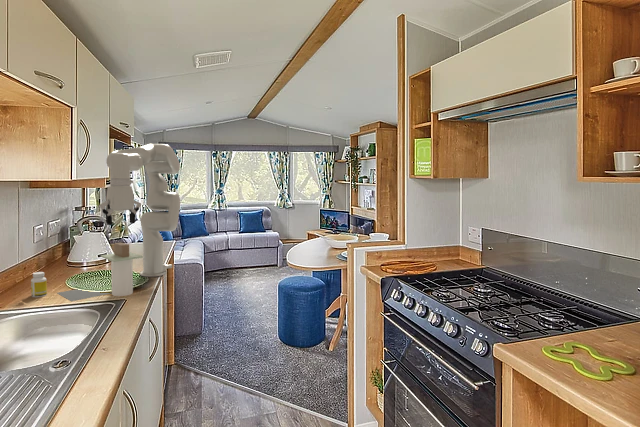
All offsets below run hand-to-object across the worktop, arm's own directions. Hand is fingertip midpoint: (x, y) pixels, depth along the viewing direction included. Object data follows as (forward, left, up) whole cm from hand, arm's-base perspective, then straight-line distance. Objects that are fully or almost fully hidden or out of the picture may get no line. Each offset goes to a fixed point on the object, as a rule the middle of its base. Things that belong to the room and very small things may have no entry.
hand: (121, 223), depth 185 cm
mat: (+11, -11, -30) cm, 34 cm away
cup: (0, 0, -30) cm, 30 cm away
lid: (0, 0, -14) cm, 14 cm away
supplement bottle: (+25, -20, -30) cm, 44 cm away
